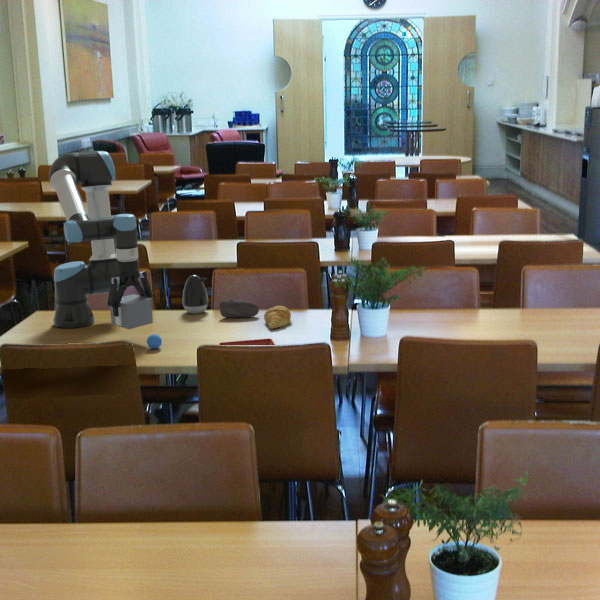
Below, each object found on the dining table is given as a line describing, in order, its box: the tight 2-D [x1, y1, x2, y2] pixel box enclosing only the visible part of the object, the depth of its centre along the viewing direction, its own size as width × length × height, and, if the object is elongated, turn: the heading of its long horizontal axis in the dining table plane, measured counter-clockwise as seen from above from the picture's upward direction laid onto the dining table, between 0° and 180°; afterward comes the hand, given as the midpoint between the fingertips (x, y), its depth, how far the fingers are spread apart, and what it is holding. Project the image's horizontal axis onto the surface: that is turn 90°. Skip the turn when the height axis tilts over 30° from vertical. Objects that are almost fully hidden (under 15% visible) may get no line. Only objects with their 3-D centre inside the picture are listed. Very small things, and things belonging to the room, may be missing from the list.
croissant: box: [263, 304, 292, 330], centre depth 325 cm, size 21×10×8 cm, turn 171°
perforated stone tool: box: [218, 299, 259, 319], centre depth 335 cm, size 15×5×7 cm, turn 84°
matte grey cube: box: [109, 293, 154, 330], centre depth 304 cm, size 10×10×9 cm
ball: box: [146, 333, 163, 350], centre depth 297 cm, size 5×5×5 cm
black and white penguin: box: [182, 274, 209, 315], centre depth 344 cm, size 10×10×15 cm
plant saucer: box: [218, 338, 276, 346], centre depth 286 cm, size 18×18×3 cm
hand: (132, 321), depth 305 cm, fingers closed on matte grey cube, 10 cm apart
